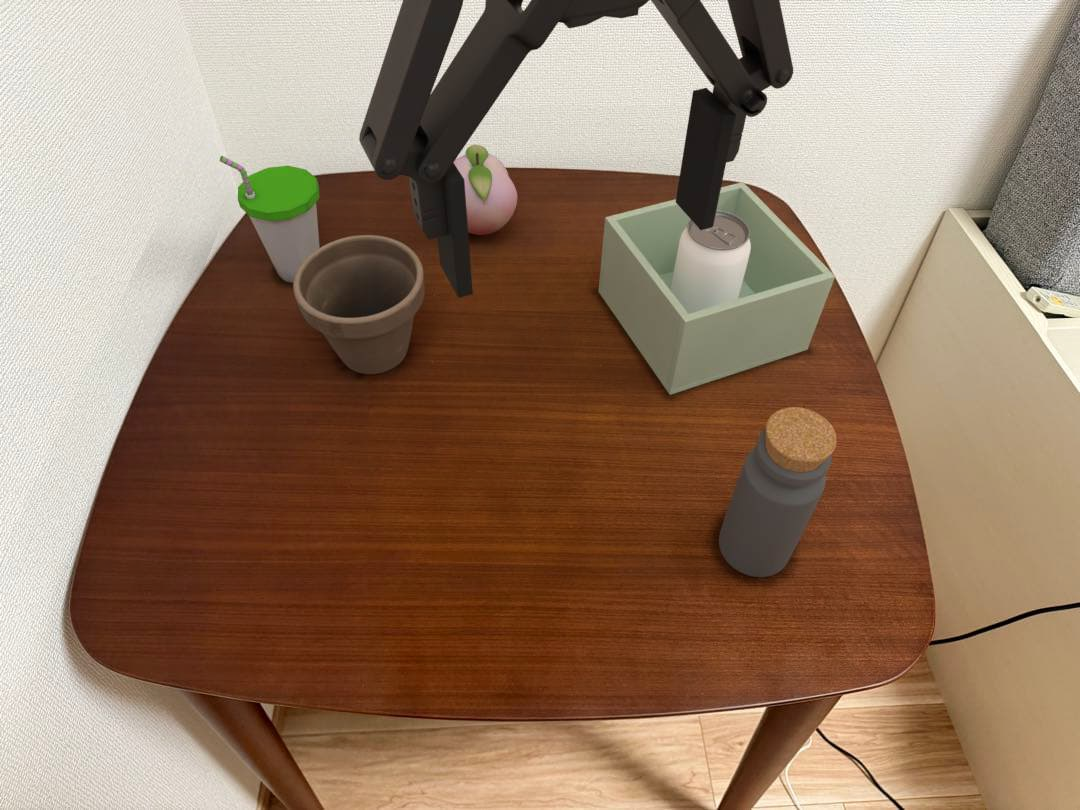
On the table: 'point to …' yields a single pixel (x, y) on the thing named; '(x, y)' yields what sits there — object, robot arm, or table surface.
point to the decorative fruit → (486, 190)
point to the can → (711, 262)
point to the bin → (720, 331)
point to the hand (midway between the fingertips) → (580, 246)
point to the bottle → (777, 491)
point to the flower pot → (362, 299)
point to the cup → (281, 213)
